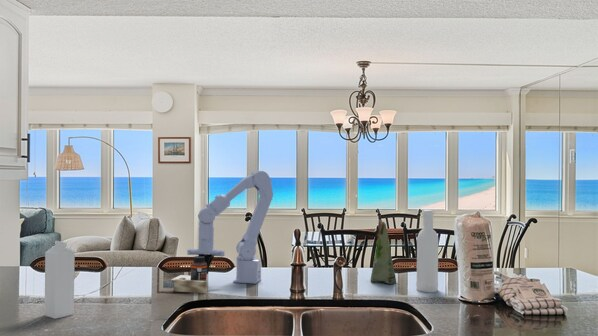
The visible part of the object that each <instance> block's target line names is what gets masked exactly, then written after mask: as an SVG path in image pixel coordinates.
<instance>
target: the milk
mask: <svg viewBox="0 0 598 336" xmlns="http://www.w3.org/2000/svg"><path fill="white" fill-rule="evenodd" d="M66 246H67V245H66V241H60V240H55V241H54V245H53V246H52V247H50V248H49V249H47V250H46V251H45V252H44V255H45V257H44V302H43V303H44V304H43V305H44V309H43V310H44V312H43V313H44V316H46V317H48V318H52V319H55V320H56V319H60V318H64V317H69V316H73V315H74V313H75V312H74V311H75V310H74V308H75V306H74V304H75V256H76V255H75V253H76V252H75V251H74V250H71V249H69V248H68V247H66Z"/></svg>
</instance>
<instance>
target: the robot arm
mask: <svg viewBox="0 0 598 336" xmlns="http://www.w3.org/2000/svg"><path fill="white" fill-rule="evenodd" d="M250 188H251V189H252V188H255V190H256V191H257V193H258V195H259V198H258V200H257V202H256V205H255V207H254V211H253V213H252V215H251V218H250V220H249V223H248V226H247V229H246V231H245V233H244V234H243V236H242V237H241V240H240V241H239V242H238V243H237V244H236V252H237V254H238V255H237V256H236V278H235V279H234V280H232V283H238V284H258V283H259V282H260V281H262V261H261V260H260V259H257V258H256V257H255V256H256V253H257V247H256V246H257V244H258V237H259V234H260V232H261V229H262V226H263V223H264V221H265V218H266V216H267V213H268V210H269V208H270V205H271V204H272V203H271V202H272V200H273V198H274V192H273V186H272V178H271V177H270V176H269V174H268V173H267V172H266V171H264V170H254V171H252V172H251V173H250V174H249V175H247V176H245V177H244V178H243V179H241V180H240V181H239V182H238V183H237V184H236V185H235V186H233V187H232V188H231V189H229V191H227V192H226V194H219V195H215V196H214V199H213V200H212V201H211V202H210V203H206V204H205V207H203V208H201V209H200V210H199V212H198V215H197V217H198V220H199V221H198V222H199V223H198V225H199V226H198V247H197V248H198V249H197V248H193V249H192V248H189V249H187V250H186V251H187V253H186V254H187V255H188V256H190V255H191V256H192V255H193V256H194V255H195V256H204V257H205V260H204V261H205V262H206V263H207V275H208V274H209V271H210V267H211V264H212V262H213V260H214V258H215V257H225V250H219V249H214V241H215V240H214V229H215V228H214V222H215V219H216V217H218V216H219V215H221V214H222V213H223V212H224V211H225V210H226V209H228V208H229V207H230V206H231V201H232V200H233V199H235V198H236V197H238V196H239V195H240V194H241V193H242V192H244V191H245V190H246V189H250Z"/></svg>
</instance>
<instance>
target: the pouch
mask: <svg viewBox="0 0 598 336" xmlns="http://www.w3.org/2000/svg"><path fill="white" fill-rule="evenodd" d="M376 236H377V240H376V241H375V245H376V247H375V253H374V258H373V263H372V268H371V270H372V271H371V276H370V282H378V283H384V284H389V285H391V284H396V282H397V278H396V272H395V267H394V263H393V259H392V254H391V246H390V240H389V239H390V237H389V234H388V227H387V223H385V222H384V221H383V220H382V219H379V220H378V226H377V234H376Z"/></svg>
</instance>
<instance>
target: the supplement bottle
mask: <svg viewBox="0 0 598 336" xmlns="http://www.w3.org/2000/svg"><path fill="white" fill-rule="evenodd" d="M204 260H205V257H204V256H199V255H195V256H193V262H192V263H190V264H191V265H190V276H191V280H198V281H207V282H208V280H207V279H208V278H207V277H208V274H207V263H206V262H205V261H204Z"/></svg>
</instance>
